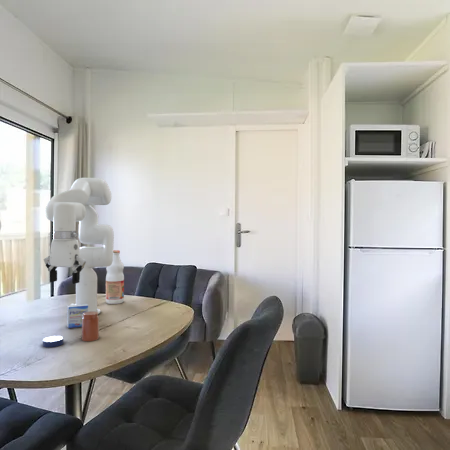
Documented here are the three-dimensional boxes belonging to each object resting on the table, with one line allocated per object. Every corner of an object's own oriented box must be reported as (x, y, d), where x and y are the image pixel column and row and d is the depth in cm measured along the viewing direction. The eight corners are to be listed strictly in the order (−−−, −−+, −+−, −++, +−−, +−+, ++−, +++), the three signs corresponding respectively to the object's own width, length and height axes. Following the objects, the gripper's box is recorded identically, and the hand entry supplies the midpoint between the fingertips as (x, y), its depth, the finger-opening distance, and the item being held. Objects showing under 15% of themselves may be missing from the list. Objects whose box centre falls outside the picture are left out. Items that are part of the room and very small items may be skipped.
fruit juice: (102, 302, 200) (102, 250, 199) (118, 299, 206) (118, 249, 206) (110, 305, 193) (111, 251, 193) (127, 302, 200) (127, 250, 199)
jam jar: (78, 340, 136) (78, 314, 136) (88, 335, 142) (88, 310, 142) (92, 341, 135) (92, 315, 135) (102, 336, 141) (102, 311, 141)
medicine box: (67, 328, 151) (67, 307, 151) (66, 325, 155) (67, 305, 155) (88, 326, 155) (88, 305, 155) (86, 323, 159) (86, 303, 159)
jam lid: (50, 340, 136) (50, 335, 136) (67, 341, 135) (67, 336, 135) (38, 346, 129) (38, 341, 129) (56, 347, 128) (56, 342, 128)
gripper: (91, 236, 137) (91, 282, 138) (52, 234, 142) (52, 279, 142) (78, 237, 130) (78, 285, 130) (37, 235, 134) (37, 282, 135)
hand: (64, 282), depth 136 cm, fingers open, 9 cm apart
